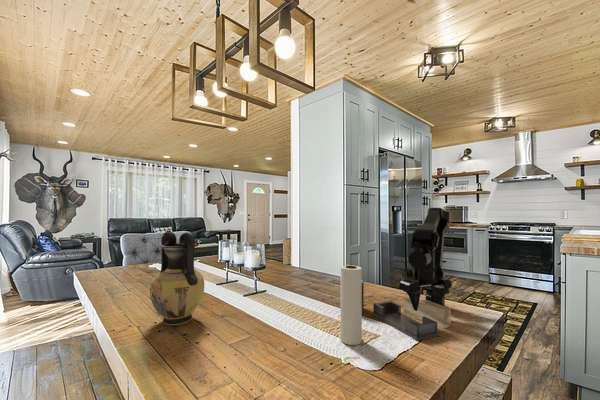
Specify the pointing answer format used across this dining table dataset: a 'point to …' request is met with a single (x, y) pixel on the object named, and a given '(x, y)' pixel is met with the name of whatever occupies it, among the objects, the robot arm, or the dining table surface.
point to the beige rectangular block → (429, 311)
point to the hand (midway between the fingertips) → (425, 308)
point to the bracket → (405, 321)
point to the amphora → (177, 280)
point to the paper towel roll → (351, 304)
